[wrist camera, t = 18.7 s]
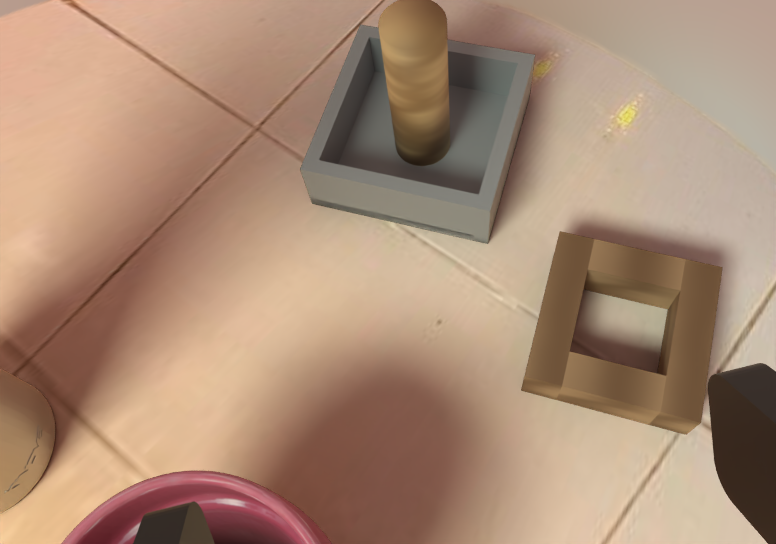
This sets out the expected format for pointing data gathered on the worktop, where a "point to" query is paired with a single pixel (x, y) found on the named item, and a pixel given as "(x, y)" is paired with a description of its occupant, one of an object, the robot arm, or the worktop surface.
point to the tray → (409, 182)
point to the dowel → (417, 78)
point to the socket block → (615, 381)
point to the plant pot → (219, 505)
